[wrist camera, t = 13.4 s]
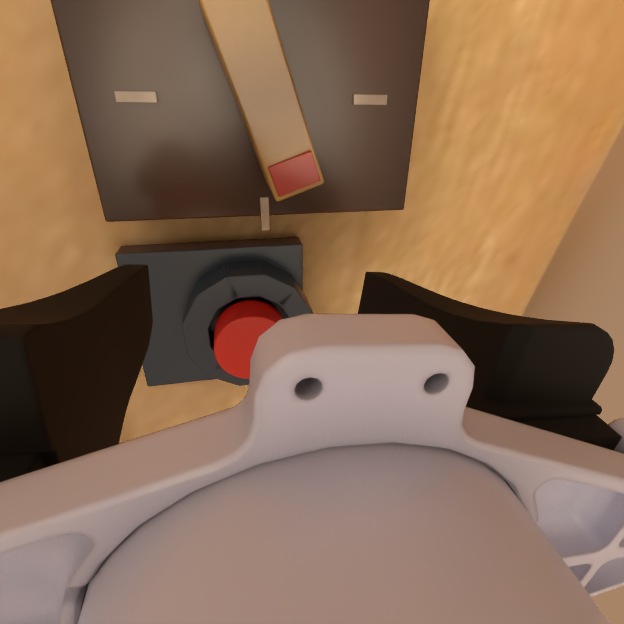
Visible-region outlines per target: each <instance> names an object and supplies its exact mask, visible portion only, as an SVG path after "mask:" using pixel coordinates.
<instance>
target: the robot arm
mask: <svg viewBox="0 0 624 624" xmlns="http://www.w3.org/2000/svg"><path fill="white" fill-rule="evenodd" d="M152 326H153V315H152V304H151V293H150V281H149V270H148V265H132V264H126V265H122V266H120V267H117V268H115V269H113V270H111V271H109V272H106V273H104V274H102V275H100V276H98V277H96V278H94V279H92V280H90V281H87V282H85V283H83V284H80V285H78V286H75V287H73V288H71V289H68V290H66V291H63V292H61V293H58V294H55V295H52V296H49V297H46V298H43V299H39V300H36V301H33V302H29V303H25V304H21V305H16V306H12V307H7V308H3V309H0V624H610V622H609V621H608V619H607V618H606V617H605V615H604V614H603V613H602V611H601V610H600V609H599V607H598V606H597V605H596V603H595V602H594V600H593V599H592V598H591V597H592V596H595V595H597V594H600V593H603V592H606V591H609V590H611V589H614V588H617V587H620V586H623V585H624V418H620V419H617V420H614V421H612V422H611V423H609V424H606V423H605V422H604V421H603V420H602V419H600V418H599V417H598V416H597V414H600V413H601V411H602V408H601V406H599V405H598V404H597V403H596V402H594V401H593V400H592V398H593V396H594V394H595V393H596V391H597V389H598V387H599V385H600V384H601V382H602V380H603V378H604V377H605V375H606V373H607V371H608V369H609V367H610V365H611V363H612V359H613V354H614V346H613V340H612V338H611V337H610V336H609V334H608V333H607V332H606V331H604V330H603V329H601V328H599V327H598V326H596V325H595V324H592V323H579V322H567V321H554V320H544V319H536V318H529V317H522V316H516V315H511V314H506V313H501V312H496V311H492V310H487V309H483V308H479V307H476V306H473V305H469V304H466V303H462V302H459V301H456V300H453V299H451V298H448V297H445V296H443V295H440V294H437V293H435V292H432V291H430V290H428V289H425V288H423V287H420V286H418V285H416V284H413V283H411V282H409V281H406V280H404V279H402V278H399V277H397V276H394V275H391V274H388V273H383V272H366V274H365V280H364V285H363V290H362V295H361V301H360V306H359V311H358V314H303V315H299V316H295V317H290V318H286V319H282V320H279V321H278V322H277V323H275V324H274V325H273V326H272V327H270V328H269V329H268V330H267V331H265V332H264V333H263V334H262V335H261V336H259V338H258V340H257V343H256V346H255V349H254V351H253V354H252V357H251V360H250V381H249V387H248V392H247V394H246V396H245V398H244V399H243V400H242V401H241V402H240V403H239V404H238V405H236V406H235V407H232V408H229V409H226V410H223V411H220V412H217V413H214V414H210V415H207V416H204V417H201V418H198V419H195V420H192V421H189V422H186V423H183V424H179V425H176V426H173V427H170V428H167V429H164V430H161V431H158V432H155V433H151V434H148V435H145V436H142V437H139V438H136V439H133V440H130V441H127V442H124V443H120V444H119V439H120V435H121V430H122V426H123V421H124V417H125V413H126V409H127V406H128V402H129V399H130V396H131V394H132V391H133V388H134V385H135V383H136V380H137V377H138V375H139V372H140V369H141V367H142V364H143V361H144V358H145V355H146V353H147V350H148V347H149V342H150V337H151V332H152Z"/></svg>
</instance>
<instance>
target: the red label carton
mask: <svg viewBox="0 0 624 624" xmlns="http://www.w3.org/2000/svg"><path fill="white" fill-rule="evenodd" d="M198 3H199V6H200V10H201V14H202V17H203V19H204V22H205V25H206V27H207V30H208V32H209V35H210V38H211V40H212V43H213V45H214V48H215V50H216V53H217V56H218V58H219V61H220V63H221V66H222V69H223V71H224V74H225V76H226V79H227V82H228V84H229V87H230V89H231V92H232V95H233V97H234V100H235V102H236V105H237V107H238V110H239V113H240V115H241V118H242V120H243V123H244V126H245V128H246V131H247V133H248V136H249V139H250V141H251V144H252V146H253V149H254V151H255V154H256V157H257V159H258V162H259V164H260V167H261V170H262V172H263V175H264V177H265V180H266V182H267V184H268V186H269V188H270V190H271V192H272V194H273V196H274V198H275V200H276V201H281V200H284V199H286V198H289V197H291V196H294V195H296V194H299V193H301V192H304V191H306V190H309V189H311V188H314V187H316V186H319V185H321V184H323V183H324V179H323V176H322V173H321V169H320V166H319V163H318V159H317V156H316V153H315V150H314V146H313V143H312V140H311V137H310V133H309V130H308V127H307V124H306V120H305V117H304V114H303V111H302V107H301V104H300V101H299V97H298V94H297V91H296V88H295V84H294V81H293V78H292V75H291V71H290V68H289V65H288V62H287V58H286V55H285V52H284V49H283V45H282V42H281V39H280V36H279V32H278V29H277V26H276V22H275V19H274V16H273V13H272V9H271V6H270V3H269V0H198Z"/></svg>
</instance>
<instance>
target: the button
mask: <svg viewBox="0 0 624 624" xmlns="http://www.w3.org/2000/svg"><path fill="white" fill-rule="evenodd" d="M282 319H283V317H282V316H281V314H280V313H279V312H278V310H276V309H275V308H274V307H273V306H271V305H269V304H267V303H265V302H262V301H257V300H246V301H241V302H238V303H235V304H233V305H231V306H229V307H228V308H227V309H225V310H224V311H223V312H222V313H221V315H220V316H219V318H218V319H217V322H216V325H215V331H214V355H215V358H216V360H217V362H218V364H219V365H220V366H221V367H222V368H223V369H224V370H225V371H226V372H227V373H229V374H231V375H233V376H236V377H239V378H244V379H250V360H251V357H252V354H253V351H254V349H255V346H256V343H257V340H258V338H259V336H261V335H262V334H263V333H264V332H265V331H267V330H268V329H269V328H270V327H272V326H273V325H274V324H275V323H277V322H278V321H279V320H282Z"/></svg>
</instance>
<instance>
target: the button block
mask: <svg viewBox="0 0 624 624" xmlns="http://www.w3.org/2000/svg"><path fill="white" fill-rule="evenodd" d="M115 256H116V260H117V264H118V267H120V266H122V265H126V264H132V265H148V270H149V281H150V293H151V304H152V315H153V326H152V332H151V337H150V342H149V347H148V350H147V353H146V355H145V358H144V361H143V364H142V365H143V369H144V373H145V377H146V381H147V385H148V386H157V385H166V384H175V383H183V382H192V381H201V380H210V379H220V380H223V381H226V382H229V383H232V384H236V385H239V386H241V385H249V381H250V379H244V378H239V377H236V376H233V375H231V374H229V373H227V372H226V371H225V370H224V369H223V368H222V367H221V366H220V365H219V364H218V362H217V360H216V358H215V355H214V331H215V325H216V322H217V319H218V318H219V316H220V315H221V313H222V312H223V311H224V310H225V309H227V308H228V307H229V306H231V305H233V304H235V303H238V302H241V301H246V300H257V301H262V302H265V303H267V304H269V305H271V306H273V307H274V308H275V309H276V310H278V312H279V313H280V314H281V316H282V317H283V319H286V318H290V317H295V316H299V315H303V314H313V312H312V309H311V307H310V304H309V302H308V299H307V297H306V296H305V294H304V293H303V245H302V243H301V241H300V239H299V237H292V238H272V239H253V240H234V241H214V242H195V243H176V244H156V245H137V246H121V247H120V248H119V250H118V251H117V253H116V254H115Z"/></svg>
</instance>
